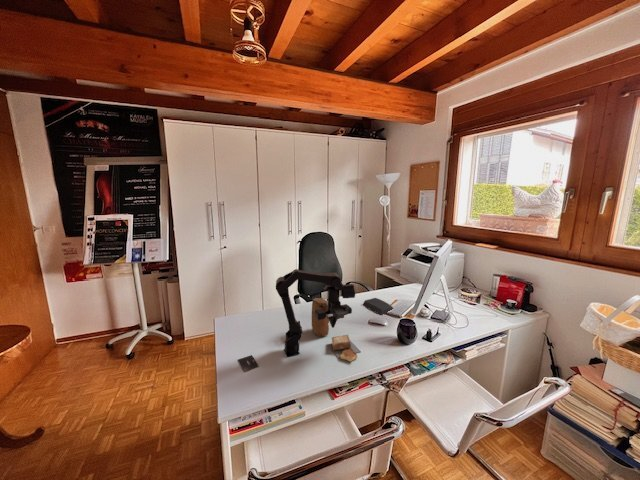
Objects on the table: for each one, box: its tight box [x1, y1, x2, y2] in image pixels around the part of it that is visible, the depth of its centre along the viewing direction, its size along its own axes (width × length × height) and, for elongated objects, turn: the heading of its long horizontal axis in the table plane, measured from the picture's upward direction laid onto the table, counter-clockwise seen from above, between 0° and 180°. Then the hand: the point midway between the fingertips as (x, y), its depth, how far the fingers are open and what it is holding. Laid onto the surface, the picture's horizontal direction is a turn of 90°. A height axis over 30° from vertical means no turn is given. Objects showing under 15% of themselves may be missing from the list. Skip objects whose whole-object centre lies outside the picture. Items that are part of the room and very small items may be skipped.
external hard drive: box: [362, 297, 394, 316], centre depth 184 cm, size 13×19×4 cm
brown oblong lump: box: [311, 297, 330, 337], centre depth 149 cm, size 11×8×20 cm
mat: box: [327, 340, 361, 359], centre depth 136 cm, size 13×12×1 cm
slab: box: [331, 334, 351, 350], centre depth 136 cm, size 3×8×9 cm
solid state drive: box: [237, 354, 260, 373], centre depth 123 cm, size 7×10×1 cm
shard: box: [340, 347, 359, 363], centre depth 130 cm, size 11×8×2 cm
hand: (332, 327), depth 132 cm, fingers closed
